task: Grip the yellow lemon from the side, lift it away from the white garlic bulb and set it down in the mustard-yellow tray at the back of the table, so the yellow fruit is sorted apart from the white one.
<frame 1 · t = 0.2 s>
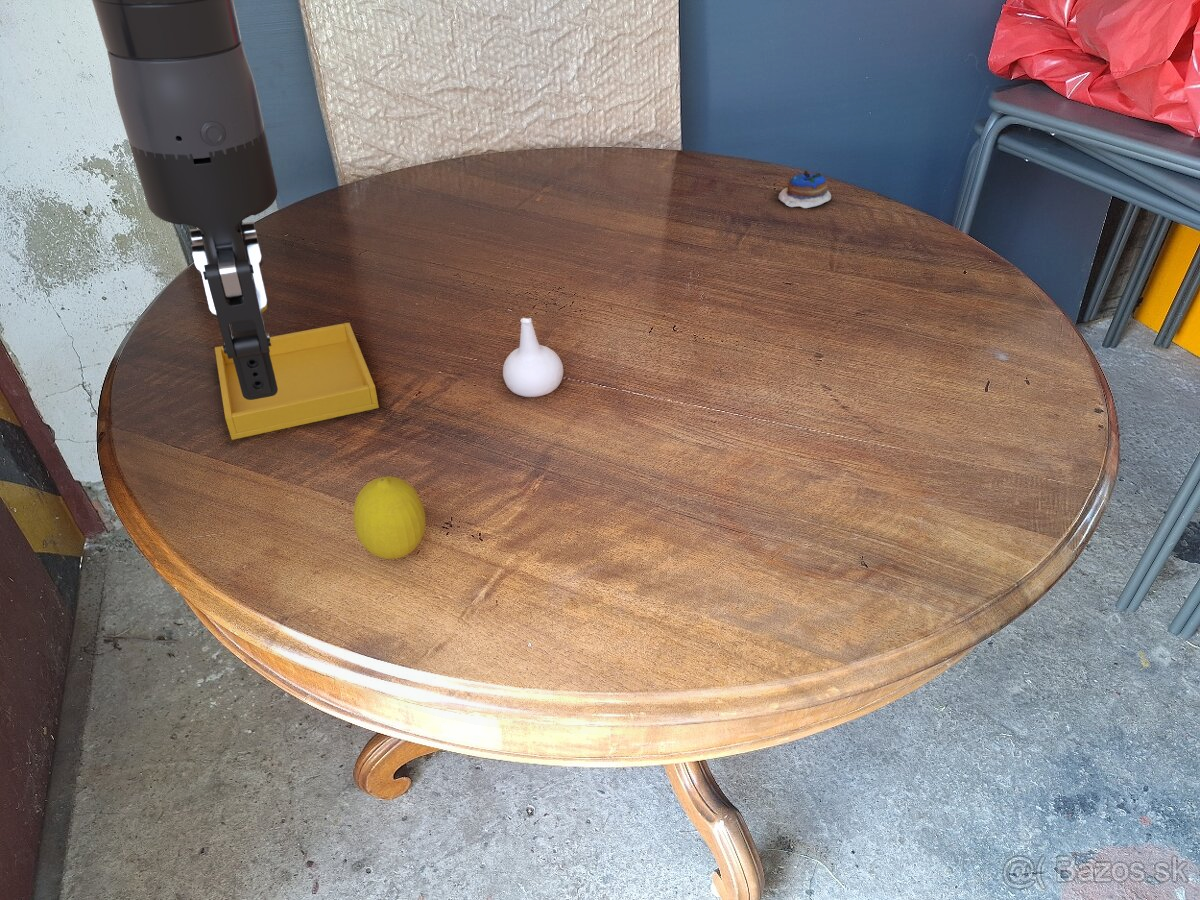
hand: (255, 363, 62), 18 cm above the table, tool pointing down, fingers open, 8 cm apart
dessert: (803, 200, 135), on the table
garlic bulb: (533, 386, 94), on the table
lemon: (396, 557, 74), on the table
yellow tray: (297, 387, 93), on the table
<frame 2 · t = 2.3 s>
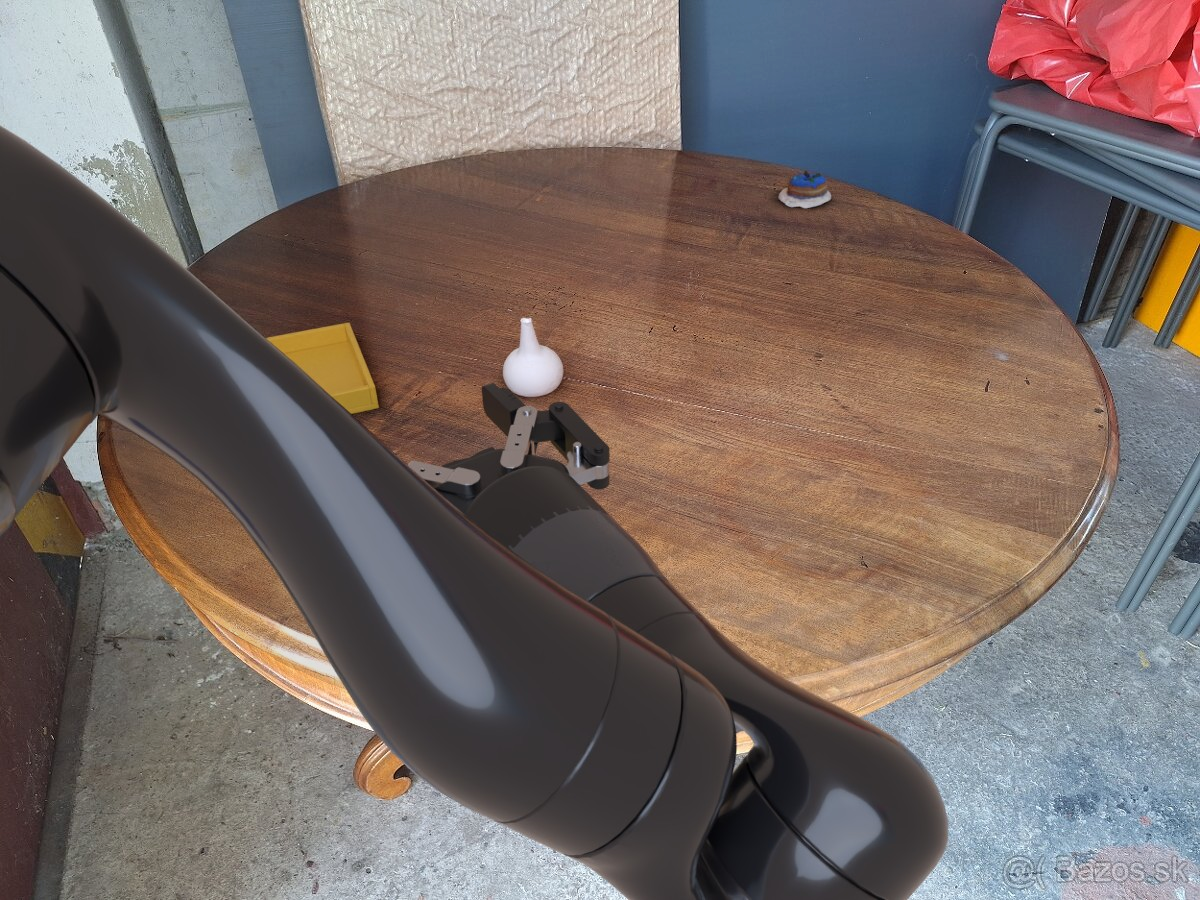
hand: (423, 417, 54), 20 cm above the table, tool horizontal, fingers open, 8 cm apart
nothing on the table moved.
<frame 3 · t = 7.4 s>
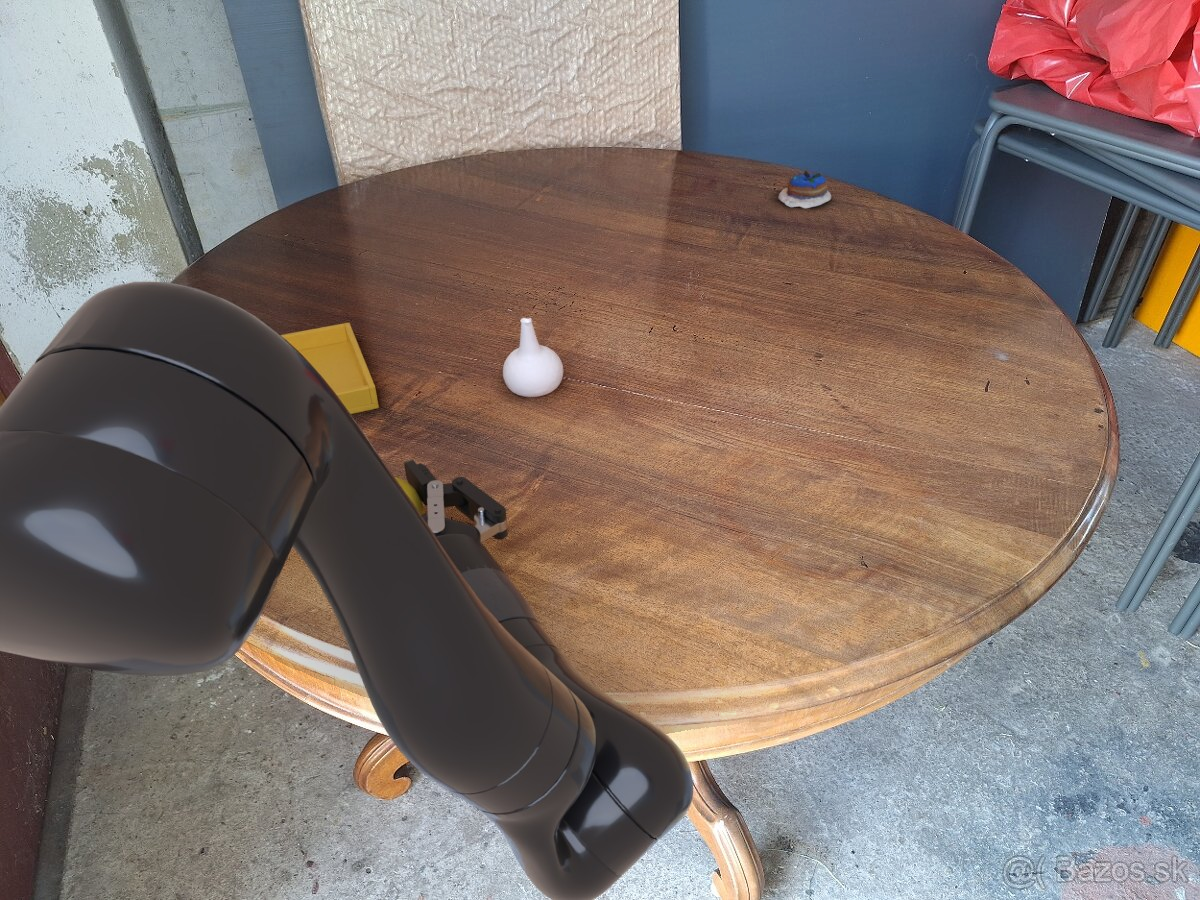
hand: (374, 482, 72), 6 cm above the table, tool horizontal, fingers closed on lemon, 5 cm apart
lemon: (396, 557, 74), on the table, touching gripper
everything else where it was.
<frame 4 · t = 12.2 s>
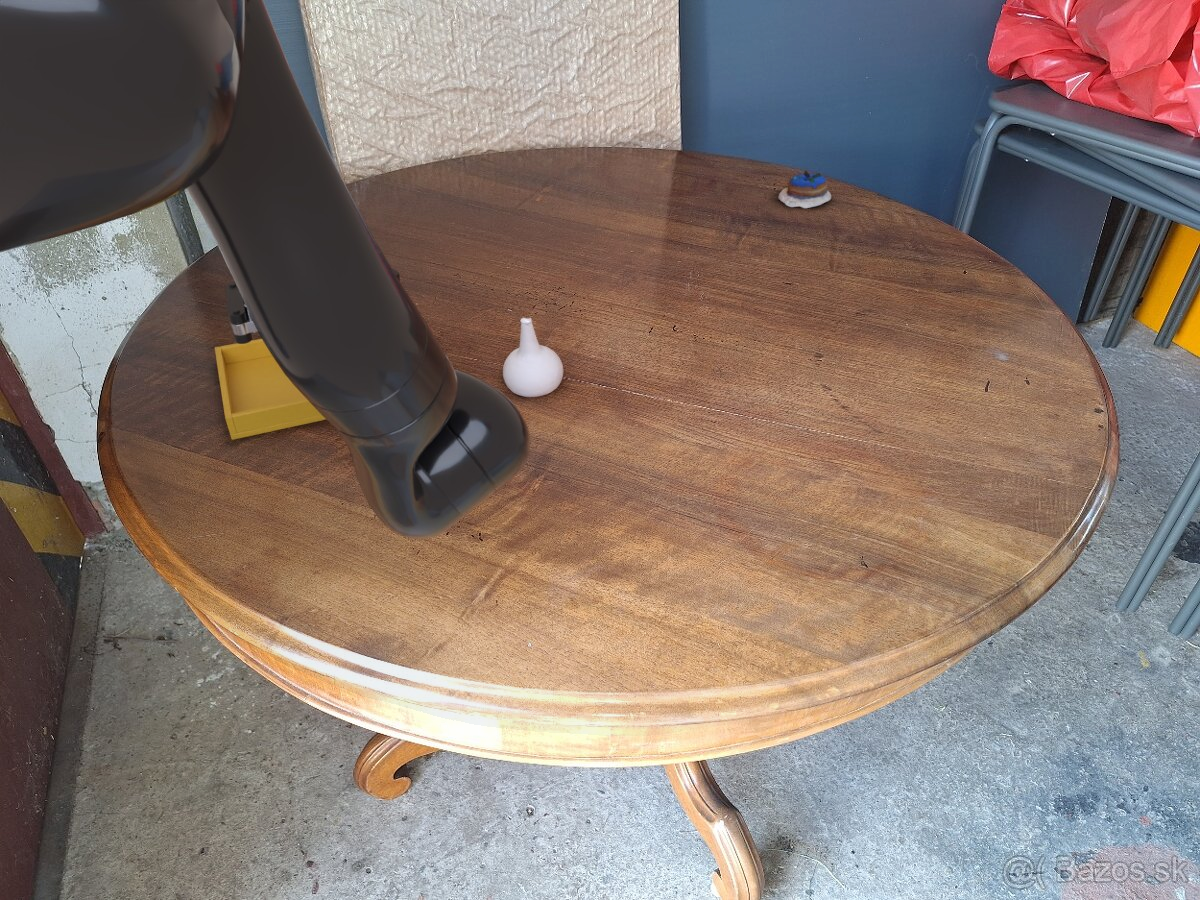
hand: (283, 261, 77), 18 cm above the table, tool horizontal, fingers closed on lemon, 5 cm apart
lemon: (306, 337, 79), point 11 cm above the table, touching gripper
everything else where it was.
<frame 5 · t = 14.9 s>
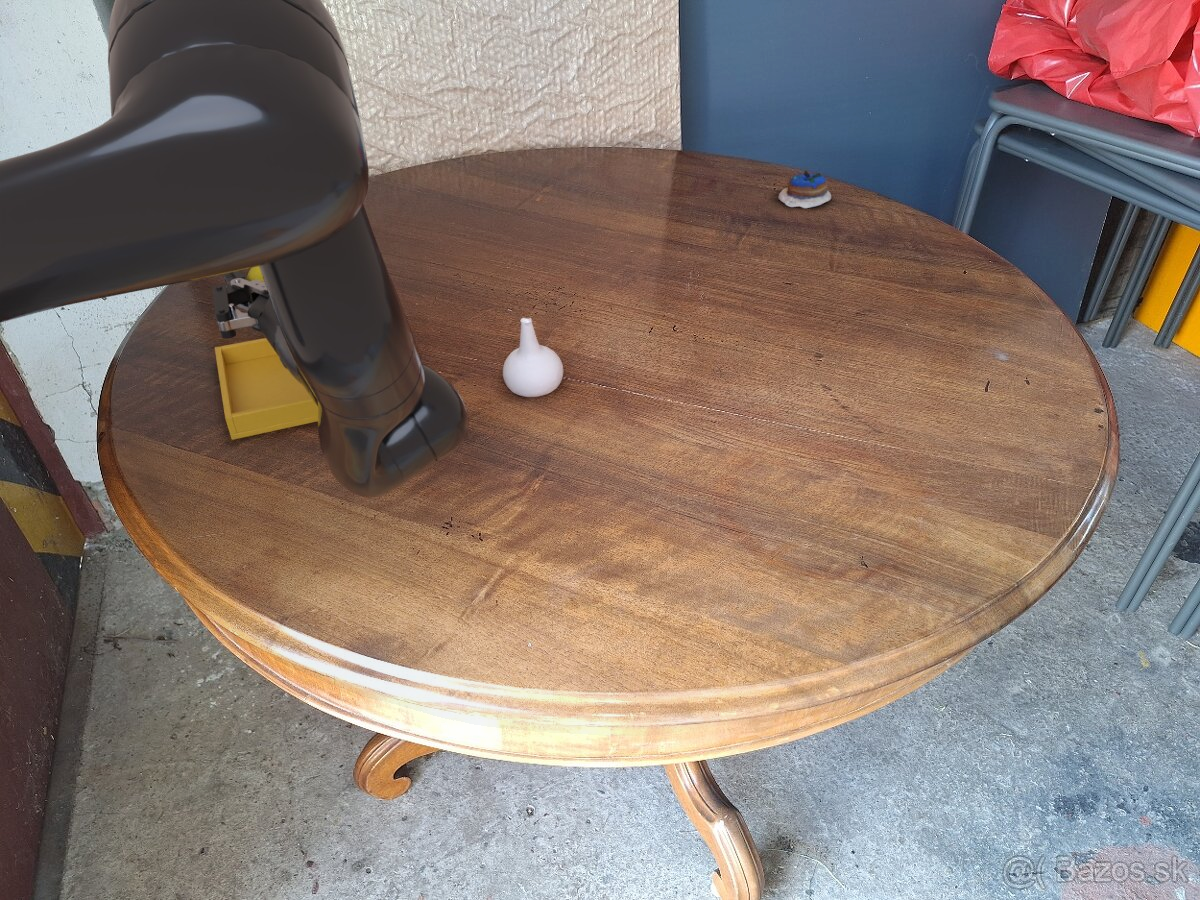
hand: (264, 267, 87), 13 cm above the table, tool horizontal, fingers closed on lemon, 5 cm apart
lemon: (286, 333, 89), point 7 cm above the table, touching gripper
everything else where it was.
when the fingers open (7 cm above the table, at t = 17.1 s): lemon stays where it is, resting on yellow tray.
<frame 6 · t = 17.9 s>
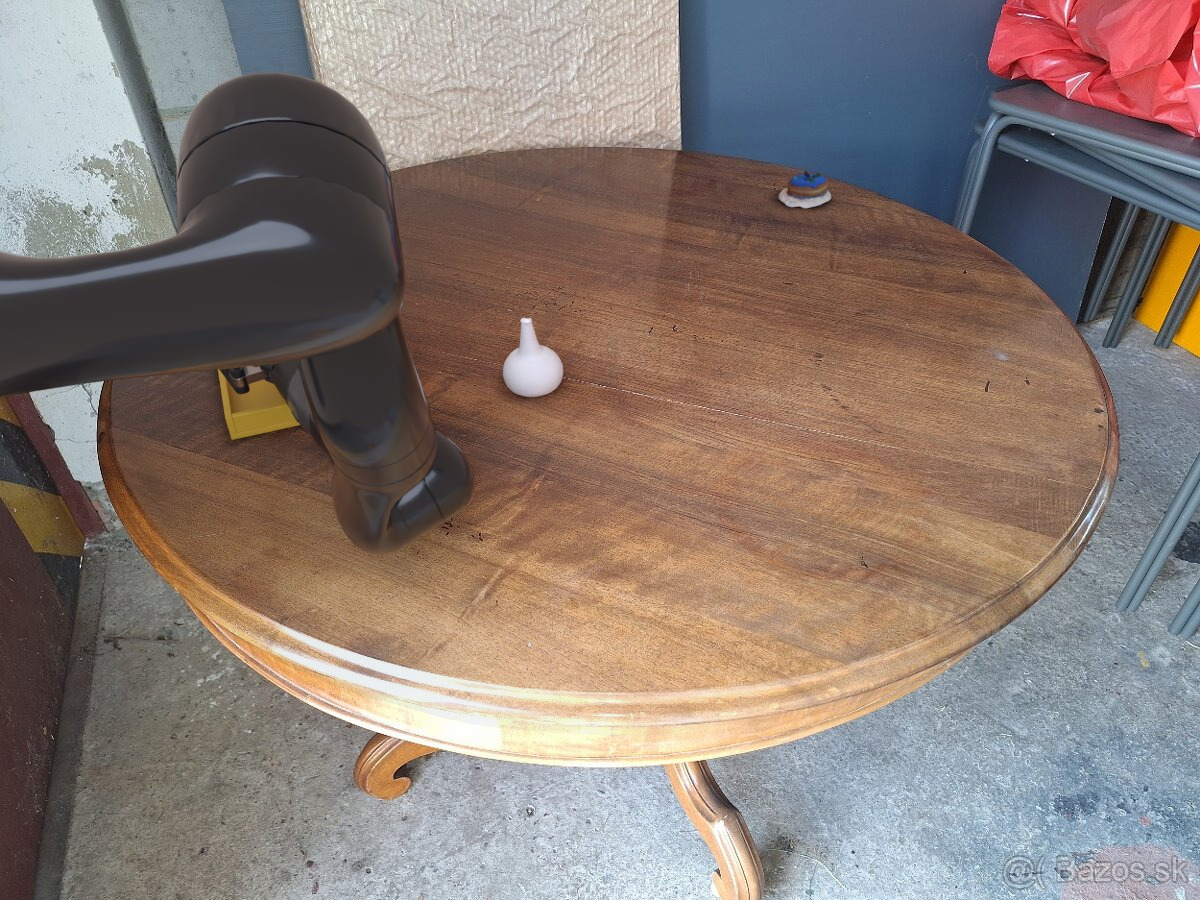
hand: (276, 317, 90), 8 cm above the table, tool horizontal, fingers open, 8 cm apart
lemon: (297, 384, 93), resting on yellow tray
everything else where it was.
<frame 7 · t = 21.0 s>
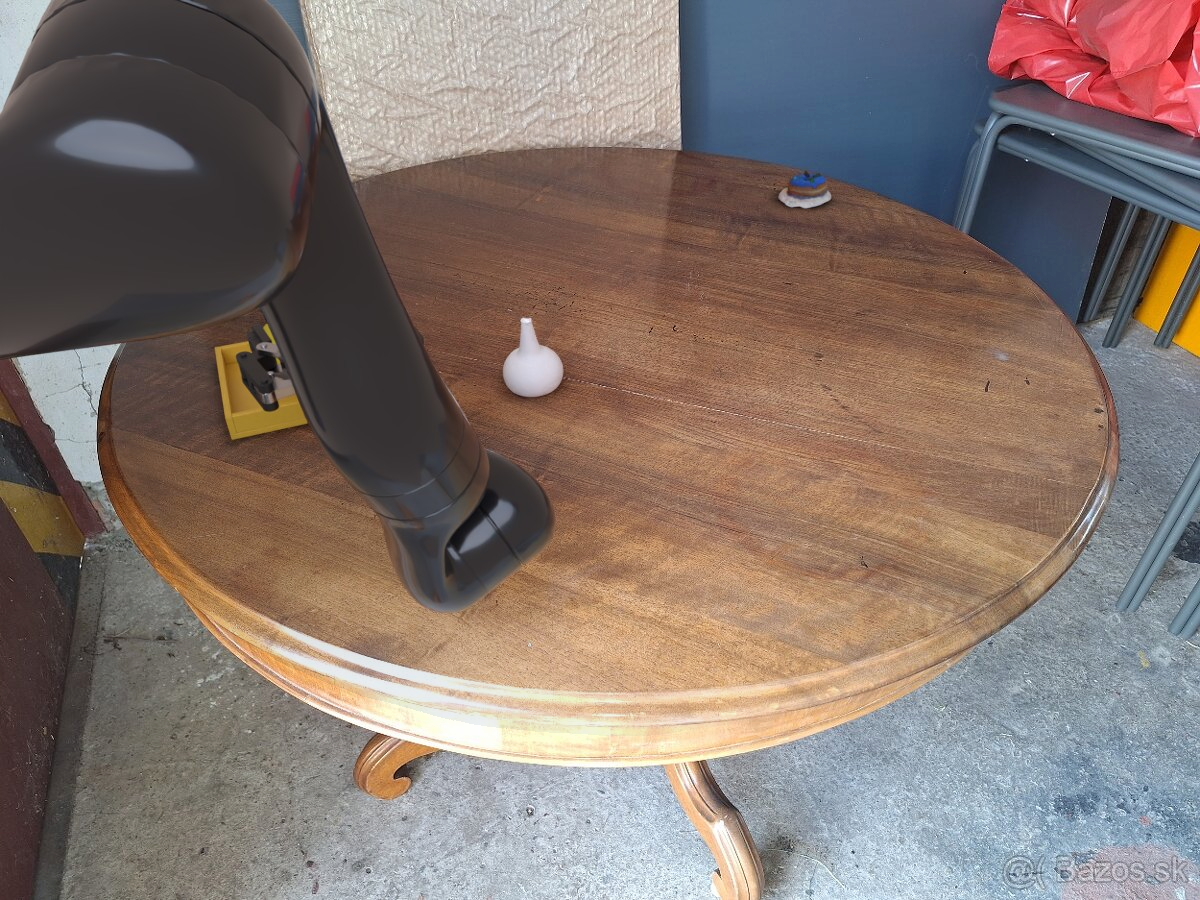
hand: (306, 321, 78), 13 cm above the table, tool horizontal, fingers open, 8 cm apart
nothing on the table moved.
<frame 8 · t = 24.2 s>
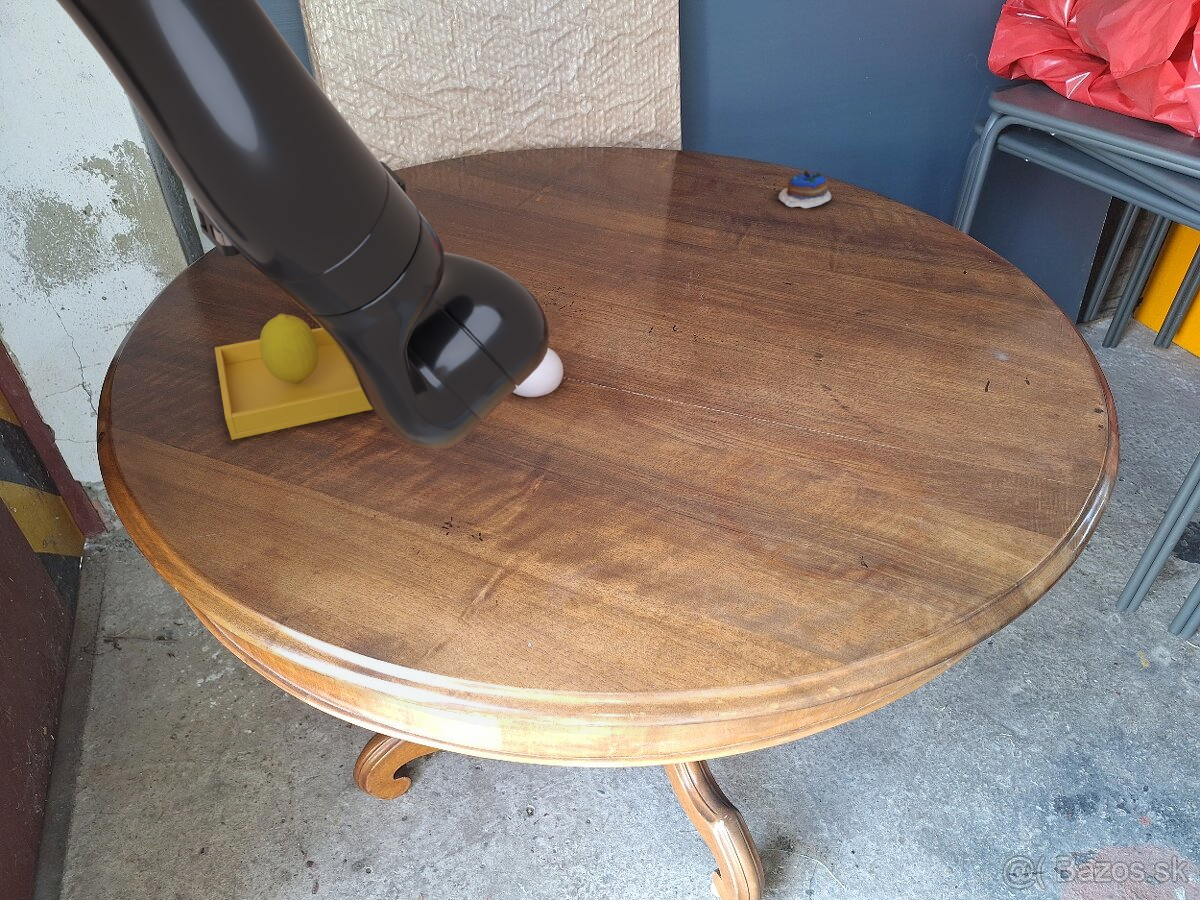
hand: (275, 175, 70), 26 cm above the table, tool horizontal, fingers open, 8 cm apart
nothing on the table moved.
at the end: lemon inside the target area in the yellow tray (0.1 cm from its centre), point 0.4 cm above the yellow tray's base; the gripper is holding nothing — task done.
